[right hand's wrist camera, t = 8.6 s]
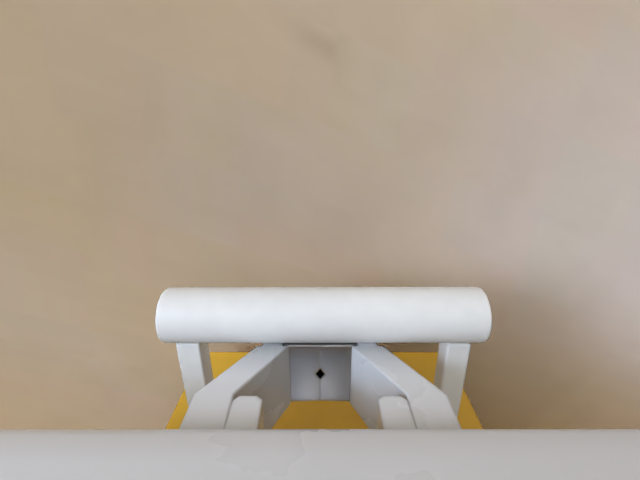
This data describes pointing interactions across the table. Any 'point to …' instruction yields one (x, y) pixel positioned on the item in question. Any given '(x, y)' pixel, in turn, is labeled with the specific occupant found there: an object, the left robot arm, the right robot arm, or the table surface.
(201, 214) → the table surface
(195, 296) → the drawer
